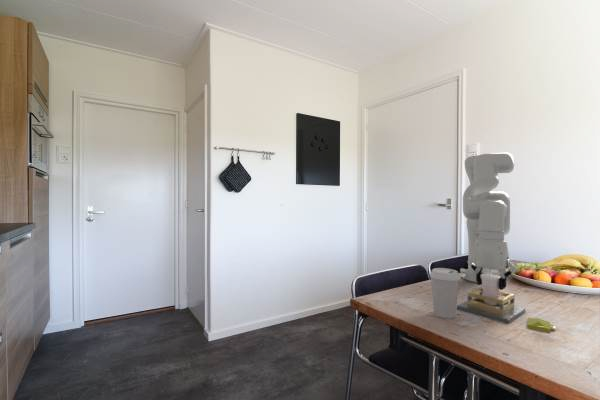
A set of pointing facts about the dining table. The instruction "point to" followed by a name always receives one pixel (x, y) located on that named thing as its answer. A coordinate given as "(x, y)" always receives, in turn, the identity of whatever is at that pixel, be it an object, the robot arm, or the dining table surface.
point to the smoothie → (490, 286)
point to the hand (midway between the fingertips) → (490, 286)
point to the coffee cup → (444, 291)
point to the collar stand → (492, 306)
